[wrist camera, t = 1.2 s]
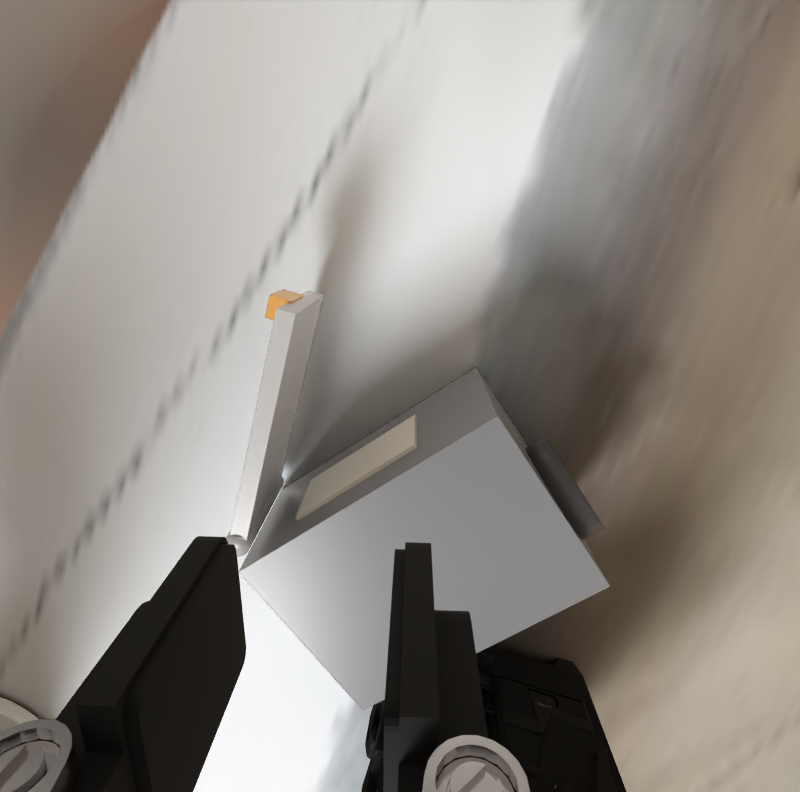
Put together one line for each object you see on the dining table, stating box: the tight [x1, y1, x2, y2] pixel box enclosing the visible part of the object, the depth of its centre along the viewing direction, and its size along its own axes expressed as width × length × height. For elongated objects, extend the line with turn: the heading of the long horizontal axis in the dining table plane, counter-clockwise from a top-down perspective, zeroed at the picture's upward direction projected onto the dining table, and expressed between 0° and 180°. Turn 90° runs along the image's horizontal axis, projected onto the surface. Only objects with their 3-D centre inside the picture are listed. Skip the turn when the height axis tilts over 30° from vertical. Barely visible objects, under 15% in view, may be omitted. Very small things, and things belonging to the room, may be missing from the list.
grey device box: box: [239, 367, 610, 710], centre depth 27 cm, size 15×10×8 cm
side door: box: [226, 289, 323, 556], centre depth 25 cm, size 12×2×6 cm, turn 164°
